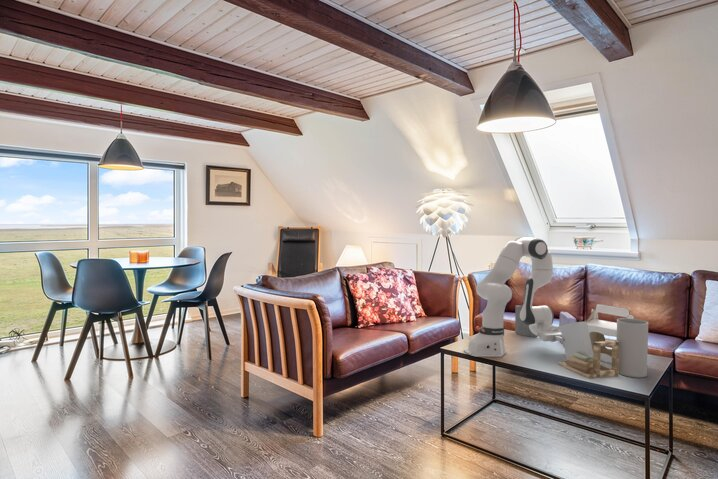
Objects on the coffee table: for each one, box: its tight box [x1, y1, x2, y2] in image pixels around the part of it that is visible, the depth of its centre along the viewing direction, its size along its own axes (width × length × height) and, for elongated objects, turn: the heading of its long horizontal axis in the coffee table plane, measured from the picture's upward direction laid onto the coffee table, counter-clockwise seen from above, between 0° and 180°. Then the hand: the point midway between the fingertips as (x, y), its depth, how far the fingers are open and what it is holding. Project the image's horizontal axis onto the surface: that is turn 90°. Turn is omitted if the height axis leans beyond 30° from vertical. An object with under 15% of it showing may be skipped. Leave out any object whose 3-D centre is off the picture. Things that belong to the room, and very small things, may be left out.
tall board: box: [560, 320, 594, 361], centre depth 222 cm, size 4×16×18 cm, turn 11°
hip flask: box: [514, 305, 538, 338], centre depth 280 cm, size 16×4×20 cm, turn 32°
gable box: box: [586, 303, 635, 364], centre depth 229 cm, size 22×13×28 cm, turn 32°
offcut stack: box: [566, 352, 594, 374], centre depth 210 cm, size 6×13×7 cm, turn 12°
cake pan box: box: [558, 311, 577, 346], centre depth 257 cm, size 19×5×18 cm, turn 170°
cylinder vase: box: [616, 317, 649, 379], centre depth 207 cm, size 12×12×25 cm
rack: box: [558, 340, 619, 379], centre depth 213 cm, size 16×20×16 cm
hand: (568, 339), depth 229 cm, fingers closed on tall board, 4 cm apart
